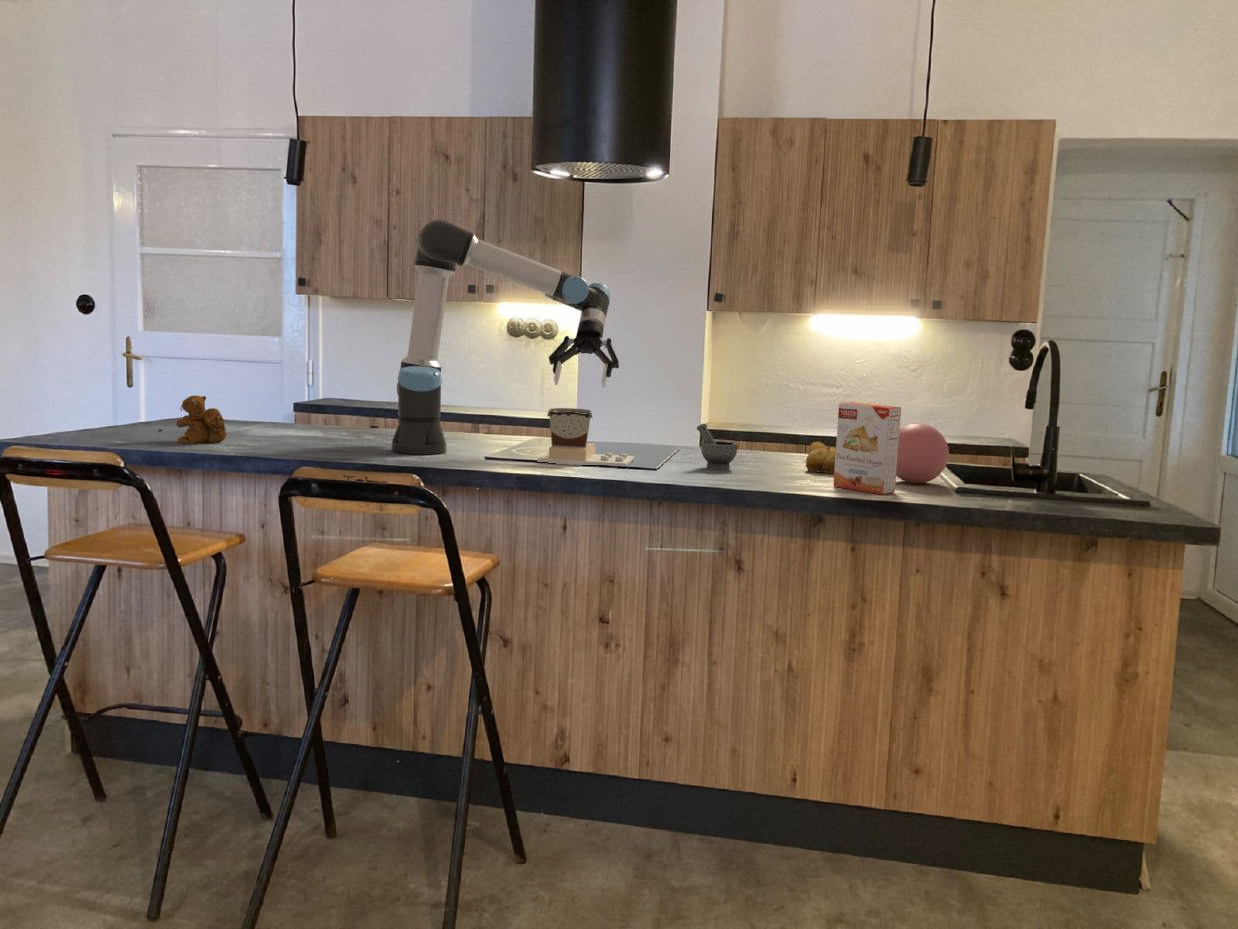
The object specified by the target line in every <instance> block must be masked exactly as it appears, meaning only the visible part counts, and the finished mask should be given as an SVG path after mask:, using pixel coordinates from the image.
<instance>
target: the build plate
mask: <svg viewBox="0 0 1238 929" xmlns="http://www.w3.org/2000/svg"><path fill="white" fill-rule="evenodd" d="M633 459H634V460H635V456H634V455H628V453H619V454H618V455H617V454H613V452H605V453H604V454H602V453H601V454H599V453H596V443H590V442H587V445H586V448H578V447H559V446H552V445H551V446H550V447H548V452H547V453H545V454H543V455H541V456H539V457H538V458H537V460H536V461H537V462H548V463H556V464H555V465H568V466H582V465H610V466H627V465H628V464H629V463H630V462H631V461H632V460H633ZM548 463H547V464H548Z"/></svg>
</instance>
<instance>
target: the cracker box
mask: <svg viewBox="0 0 1238 929" xmlns="http://www.w3.org/2000/svg"><path fill="white" fill-rule="evenodd" d="M837 416H838V417H837V427H836V428H837V429H836V443H835V444H836V445H835V448H836V455H835V469H834V473H833V484H832V485H833V487H836V488H841V489H848V490H854V491H859V492H865V493H872V494H876V495H881V496H882V495H883V496H884V495H887V494H889V495H890V494H895V491H896V481H897V476H896V471H897V458H898V445H899V432H900V428H901V416H902V407H900V406H893V405H884V404H883V405H881V404H875V403H867V402H866V403H863V402H854V401H853V402H852V401H843V402H839V403H838V415H837Z"/></svg>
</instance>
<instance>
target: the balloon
mask: <svg viewBox="0 0 1238 929" xmlns="http://www.w3.org/2000/svg"><path fill="white" fill-rule="evenodd" d="M949 455H950V451H949V445H948V443H947V440H946V438H945V437H944V435H943V434H942V433H941V432H940V431H939V430H938V429H936V428H935V427H933V426H932V425H928V424H926V423H910V424H906V425H904V426H901V427H900V432H899V445H898V458H897V471H896V478H899V479H900V480H902V481H904V482H906V483H910V484H916V485H917V484H925V483H928V482H931V481H933V480H935V479H936V478H937V477H939V476H940V475H941V474H942V473H943V472H944V470H945V469H946V467H947V465H948V461H949Z"/></svg>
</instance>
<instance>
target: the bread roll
mask: <svg viewBox="0 0 1238 929" xmlns="http://www.w3.org/2000/svg"><path fill="white" fill-rule="evenodd" d="M835 455H836V446H835V447H834V446H832V447H830V448H829V447H828V446H827V445H826V444H824V443H822V442H821V441H819V440H818V441H814V442H812V443H811V444H810V446H809V449H808V455H807V457H806V460H805V468H806V469H807V470H808V471H809V472H814V473H823V474H833V475H834V469H835Z"/></svg>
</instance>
